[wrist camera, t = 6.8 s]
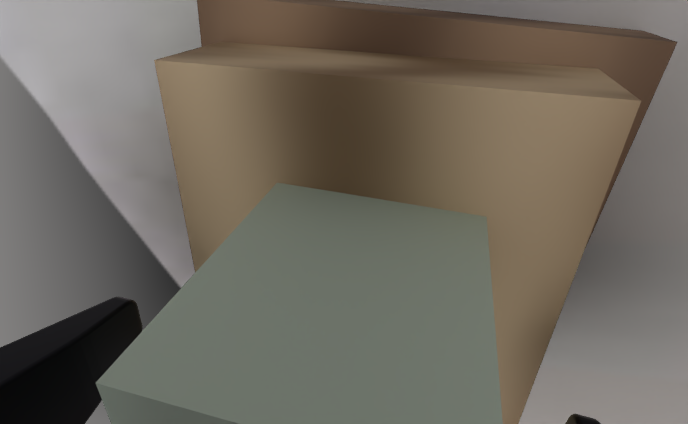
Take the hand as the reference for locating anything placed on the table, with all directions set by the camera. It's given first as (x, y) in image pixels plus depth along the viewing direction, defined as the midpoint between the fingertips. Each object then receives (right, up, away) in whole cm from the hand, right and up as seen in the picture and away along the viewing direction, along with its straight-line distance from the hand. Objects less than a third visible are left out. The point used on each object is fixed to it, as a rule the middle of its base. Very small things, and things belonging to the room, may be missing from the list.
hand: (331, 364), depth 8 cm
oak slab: (+1, +3, +5) cm, 6 cm away
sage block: (+1, +1, +3) cm, 3 cm away
